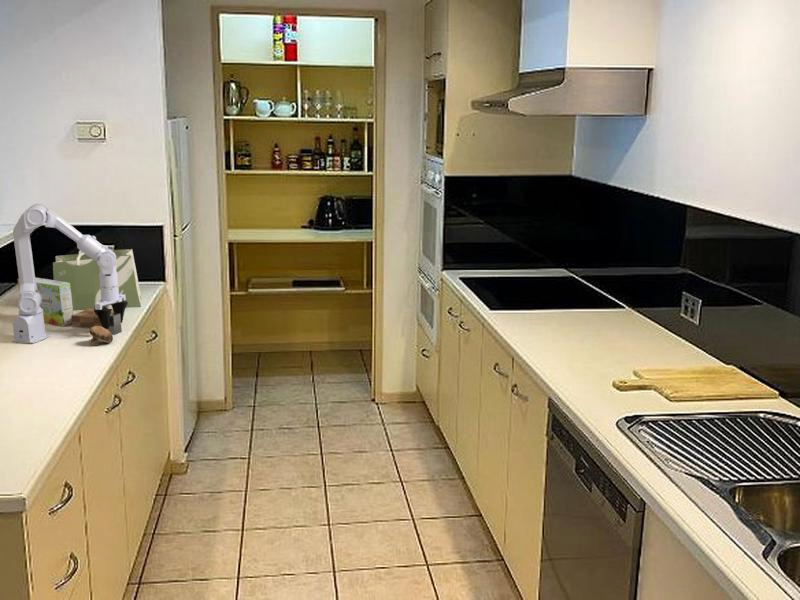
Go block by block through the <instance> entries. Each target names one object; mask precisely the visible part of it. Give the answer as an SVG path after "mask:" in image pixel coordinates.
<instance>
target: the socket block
mask: <svg viewBox="0 0 800 600" xmlns="http://www.w3.org/2000/svg"><path fill="white" fill-rule="evenodd" d="M111 313H114V311H113V309H112V310H111ZM71 318H72V324H71V327H72V328H80V329H81V328H82V329H83V328H84V329H90V328H91V327H94V326H101V327H102V325H101V322H100V320H99V318H98V316H97V314H96V313H95V312H94V308H93V307H92V308H90V309H87V310H81V311H79V312H76V313H75V314H74V313H73V315H72V316H71Z"/></svg>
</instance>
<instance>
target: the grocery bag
mask: <svg viewBox="0 0 800 600" xmlns="http://www.w3.org/2000/svg"><path fill="white" fill-rule="evenodd" d="M102 245H103V246H105V245H104V244H102ZM111 250H112V251H113V252H114V253H115V255H116V267H117V270H116V271H117V276H118V288H119V294H125V298H126V300H124V301H127V302H128V304H127V306H126V308H125V309H127V308H141V307H142V304H141V302H142V295H141V289H140V283H139V279H138V273H137V268H136V263H135V256H134V251H133V248H131V249H111ZM52 266H53V267H52V271H53V272H52V273H53V280H55V281H61V282H67V283H70V287H71V297H72V306H73V311H84V310H87V309H90V308H92V307H93V308H95V304H96V303H98V302H99V301H100V300H101V290H100V278H99V273H100V269H99V266H98V264H97V261H96V260H93V259H91V258H90V257H89V256H87V255H86V254H85V253H83V252H82V251H81V250H79V251H78V253H76V254H65V255H63V254H62V255H56V256H55V262H52ZM106 308H107V309H113V308H112V306H111V305H109V306H107V307H106Z"/></svg>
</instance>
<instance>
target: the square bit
mask: <svg viewBox="0 0 800 600" xmlns="http://www.w3.org/2000/svg"><path fill="white" fill-rule="evenodd" d="M122 329H123V328H122V323H121V317H120V313H111V314H110V327H109V329H107V330H109V331H110V332H111V333H112V336H115V335H118V334H120V333H122V331H123V330H122Z"/></svg>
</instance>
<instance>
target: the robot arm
mask: <svg viewBox="0 0 800 600" xmlns="http://www.w3.org/2000/svg"><path fill="white" fill-rule="evenodd" d="M44 224H45V226H44ZM41 226H44V227H45V228H54V229H57V230H58V231H60V232H61V233H62V234H64V235H65V236H67V237H68V238H69V239H71V240H73V241H74V242H75V243H76V247H77V249H78V250H79V251H80V250H81V251H82V252H83V253H85V254H86V255H87V256H89V257H90V258H91V259H93V260H96V261H97V264H98V266H99V269H100V273H99V278H100V290H101V300H100V301H99V302H98V303H96V304H95V308H94V312H95V313H96V314H97V316H98V318H99V320H100V322H101V325H102V327H103V328H105V329H109V327H110V314H111V310H112V309H107V308H106V307H107V306H109V305H111V306H112V308H113V311H114V313H120V317H121V324H122V323H123V320H124V316H125V311H126V309H127V308H126V306H127V304H128V302H127V301H124V300H126V298H125V294H119V288H118V276H117V271H116V270H117V267H116V255H115V253H114V252H113V251H112V250H113V249H111V248H109V246H107V245H104V244H102V243H100V241H98V240H97V237H96V236H95V235H90V234H82V232H80V231H79V230H77V229H76V227H74V226H73V225H72V224H70V223H69V222H68V221H67V220H65V219H64V218H63V217H62V216H61V215H59V214H58V213H57V212H55V211H54V210H52V209H50V208H49V209H48V207H47V206H46V205H44V204H43V203H35V204H33V205H30V206H29V207H28V208H27V209H26V210H25V211H24V212H23V213H22V214H21V215H20V217H19V219H18V220H17V223H16V224H15V225H14V227H13V229H12V235H13V243H14V244H13V245H14V249H15V258H16V266H17V273H18V274H17V275H18V279H19V283H20V290H19V289H18V291H19V292H18V293H19V298H18V301H17V308H18V309H19V311H18V315H17V316H16V317H15V318H14V319H13V321H12V328H13V329H12V330H13V338H14V339H12V342H14V343H24V344H35V343H37V342H40V341H43V340H45V339H47V338H50V337H52V334H49V333H46V330H45V329H46V327H45V323H44V316H43V309H42V308H41V307H40V306H39V305H40V304H41V302H42V296H41V294H40V293H39V291H38V288H37V284H36V281H35V277H36V275H35V266H34V259H33V251H32V244H31V234H32V233H33V232H34V231H35V230H36V229H37V228H39V227H41ZM103 245H104V246H103Z"/></svg>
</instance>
